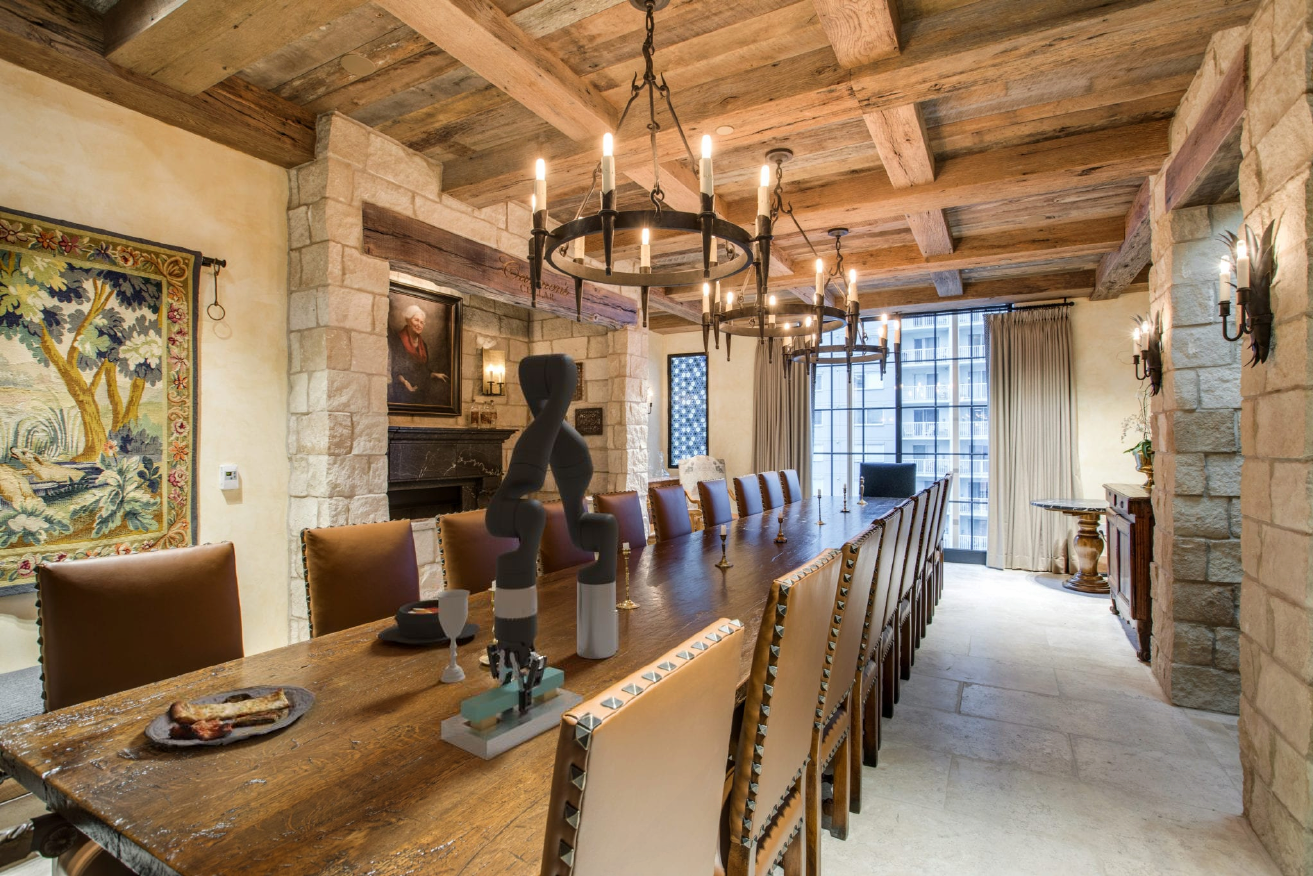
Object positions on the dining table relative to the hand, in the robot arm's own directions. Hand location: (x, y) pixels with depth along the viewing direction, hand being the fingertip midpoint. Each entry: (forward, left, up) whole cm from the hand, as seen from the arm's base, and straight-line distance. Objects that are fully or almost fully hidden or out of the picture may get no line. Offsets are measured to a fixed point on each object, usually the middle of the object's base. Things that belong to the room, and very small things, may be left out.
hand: (515, 706), depth 111 cm
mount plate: (0, 0, -3) cm, 3 cm away
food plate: (+29, -42, -4) cm, 51 cm away
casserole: (-20, -56, -3) cm, 60 cm away
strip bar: (0, 0, -1) cm, 1 cm away
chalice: (-7, -28, -3) cm, 29 cm away
